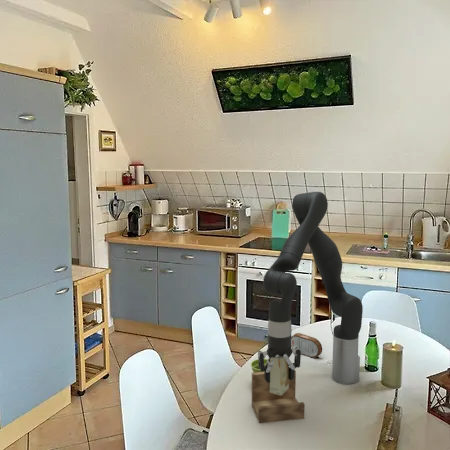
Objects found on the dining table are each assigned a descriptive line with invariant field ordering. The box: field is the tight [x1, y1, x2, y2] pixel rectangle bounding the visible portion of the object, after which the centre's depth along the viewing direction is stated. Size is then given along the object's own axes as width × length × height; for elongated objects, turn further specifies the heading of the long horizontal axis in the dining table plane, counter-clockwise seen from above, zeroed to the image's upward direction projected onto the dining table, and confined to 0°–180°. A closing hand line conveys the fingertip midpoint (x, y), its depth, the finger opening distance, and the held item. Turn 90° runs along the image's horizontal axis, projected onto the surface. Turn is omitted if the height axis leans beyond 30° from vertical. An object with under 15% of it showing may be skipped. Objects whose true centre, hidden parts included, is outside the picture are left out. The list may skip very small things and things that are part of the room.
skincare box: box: [270, 356, 290, 395], centre depth 151 cm, size 6×4×12 cm
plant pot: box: [250, 358, 268, 373], centre depth 171 cm, size 9×9×9 cm
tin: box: [291, 332, 323, 359], centre depth 199 cm, size 15×3×8 cm, turn 47°
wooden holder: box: [251, 369, 305, 424], centre depth 153 cm, size 15×10×12 cm
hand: (279, 380), depth 151 cm, fingers closed on skincare box, 7 cm apart
